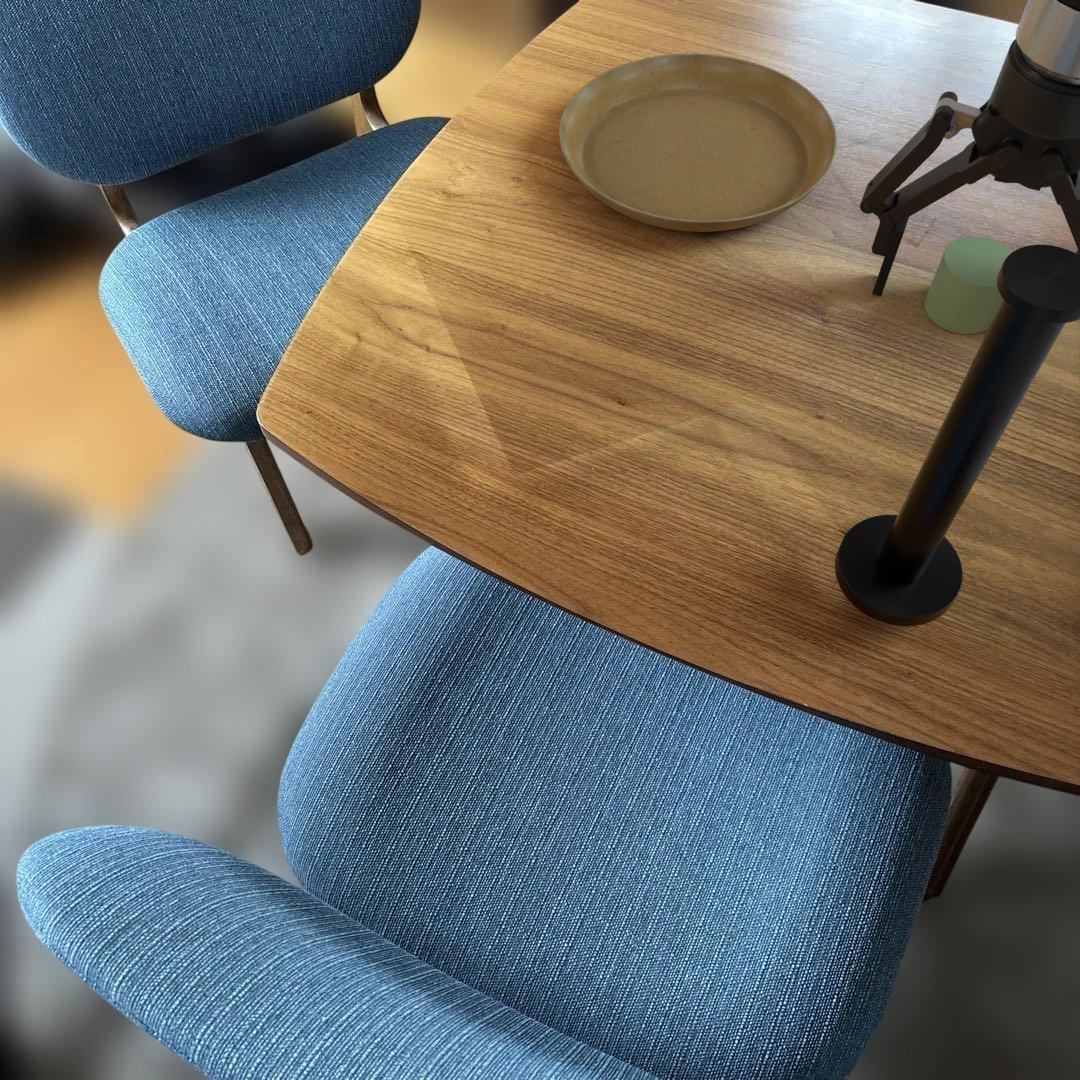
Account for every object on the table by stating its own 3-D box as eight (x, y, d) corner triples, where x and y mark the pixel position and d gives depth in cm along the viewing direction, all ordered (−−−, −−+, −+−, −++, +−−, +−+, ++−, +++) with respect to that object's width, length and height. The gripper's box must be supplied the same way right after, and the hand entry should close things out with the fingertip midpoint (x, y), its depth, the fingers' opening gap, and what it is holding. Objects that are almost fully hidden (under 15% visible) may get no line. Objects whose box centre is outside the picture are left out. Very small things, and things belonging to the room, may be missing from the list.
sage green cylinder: (1011, 322, 81) (1035, 274, 77) (951, 343, 80) (972, 294, 76) (968, 277, 84) (990, 228, 80) (910, 296, 83) (929, 247, 79)
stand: (981, 601, 67) (1184, 309, 46) (877, 643, 66) (1035, 362, 44) (912, 509, 72) (1067, 201, 50) (812, 547, 70) (927, 245, 48)
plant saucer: (520, 117, 97) (519, 84, 94) (750, 60, 101) (755, 28, 98) (623, 283, 84) (625, 251, 81) (880, 210, 89) (890, 178, 86)
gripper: (1289, 60, 63) (1127, 314, 81) (890, -18, 69) (821, 237, 87) (1286, 131, 59) (1117, 381, 78) (865, 44, 65) (799, 296, 83)
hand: (961, 305), depth 82 cm, fingers open, 12 cm apart
